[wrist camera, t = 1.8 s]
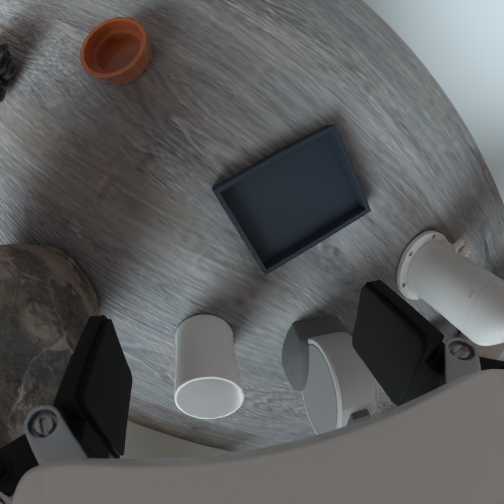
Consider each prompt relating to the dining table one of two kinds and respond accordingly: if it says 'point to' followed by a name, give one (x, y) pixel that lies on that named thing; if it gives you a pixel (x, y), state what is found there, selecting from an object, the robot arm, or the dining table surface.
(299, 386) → the alarm clock
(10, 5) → the dining table surface
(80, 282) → the clay pot
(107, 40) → the small bowl
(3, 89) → the fruit
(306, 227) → the tray
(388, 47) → the dining table surface
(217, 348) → the mug
